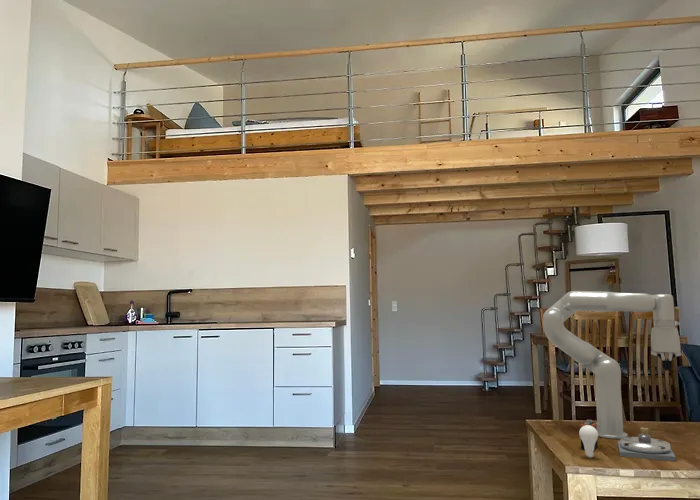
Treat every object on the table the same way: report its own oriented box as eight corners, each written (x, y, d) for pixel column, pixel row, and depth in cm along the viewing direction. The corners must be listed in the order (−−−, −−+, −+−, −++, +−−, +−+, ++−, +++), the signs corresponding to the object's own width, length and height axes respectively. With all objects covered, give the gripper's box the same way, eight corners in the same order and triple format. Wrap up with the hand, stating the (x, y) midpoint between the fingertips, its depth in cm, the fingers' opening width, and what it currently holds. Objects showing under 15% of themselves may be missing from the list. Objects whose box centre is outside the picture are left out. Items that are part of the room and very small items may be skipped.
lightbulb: (597, 461, 187) (596, 427, 188) (578, 458, 190) (577, 425, 191) (600, 456, 192) (598, 424, 193) (581, 454, 195) (580, 422, 196)
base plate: (620, 456, 193) (620, 451, 193) (618, 445, 209) (617, 440, 209) (675, 461, 186) (675, 456, 186) (669, 449, 202) (668, 445, 202)
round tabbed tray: (671, 455, 187) (670, 439, 187) (619, 450, 194) (618, 434, 195) (669, 445, 201) (668, 429, 202) (621, 440, 209) (620, 425, 209)
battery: (598, 447, 205) (596, 420, 206) (593, 451, 200) (591, 423, 201) (585, 445, 208) (584, 418, 209) (580, 449, 202) (579, 421, 204)
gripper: (684, 324, 223) (687, 370, 221) (642, 324, 229) (645, 368, 227) (687, 324, 216) (690, 372, 214) (644, 324, 222) (647, 370, 220)
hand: (667, 370), depth 220 cm, fingers closed
